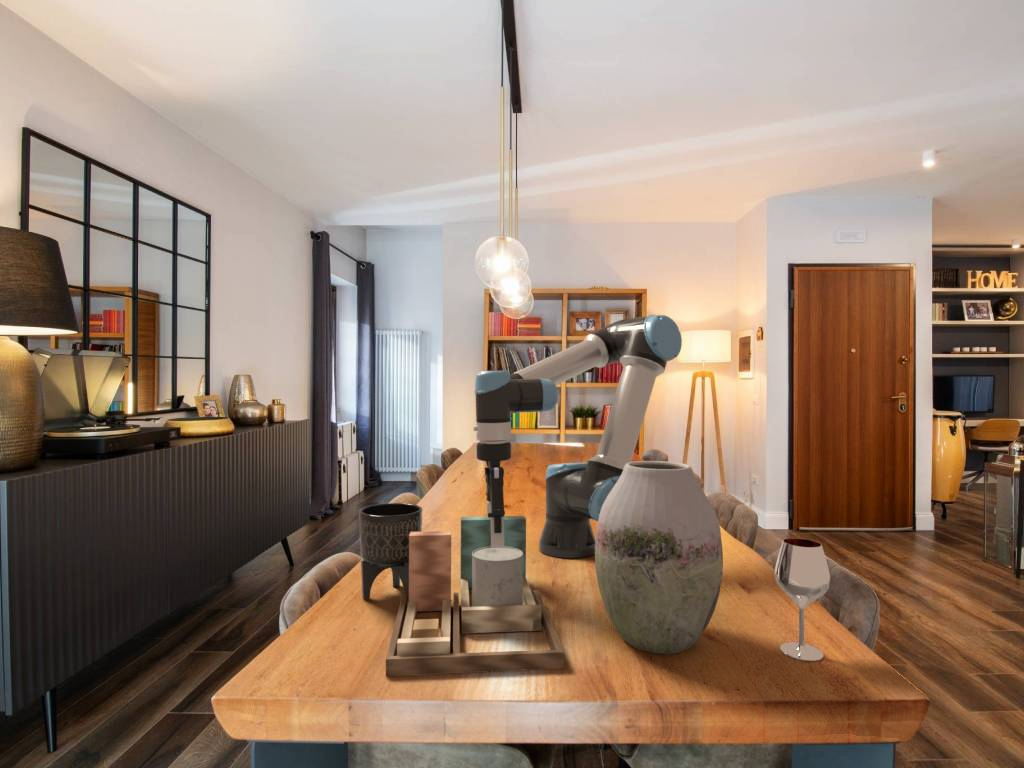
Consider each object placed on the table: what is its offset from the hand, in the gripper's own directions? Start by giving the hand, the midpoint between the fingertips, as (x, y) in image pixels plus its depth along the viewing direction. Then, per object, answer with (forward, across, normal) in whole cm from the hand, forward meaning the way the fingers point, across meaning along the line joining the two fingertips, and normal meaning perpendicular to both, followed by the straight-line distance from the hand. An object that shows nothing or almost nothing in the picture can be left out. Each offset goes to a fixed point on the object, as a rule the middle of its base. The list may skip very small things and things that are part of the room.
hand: (495, 538), depth 126 cm
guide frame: (+10, +24, -6) cm, 27 cm away
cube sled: (+9, +24, -14) cm, 29 cm away
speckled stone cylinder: (+10, +18, -1) cm, 21 cm away
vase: (+11, +29, +26) cm, 40 cm away
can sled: (+10, +12, -1) cm, 16 cm away
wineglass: (+11, +36, +48) cm, 61 cm away
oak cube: (+10, +29, -14) cm, 34 cm away
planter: (+10, +4, -22) cm, 25 cm away
